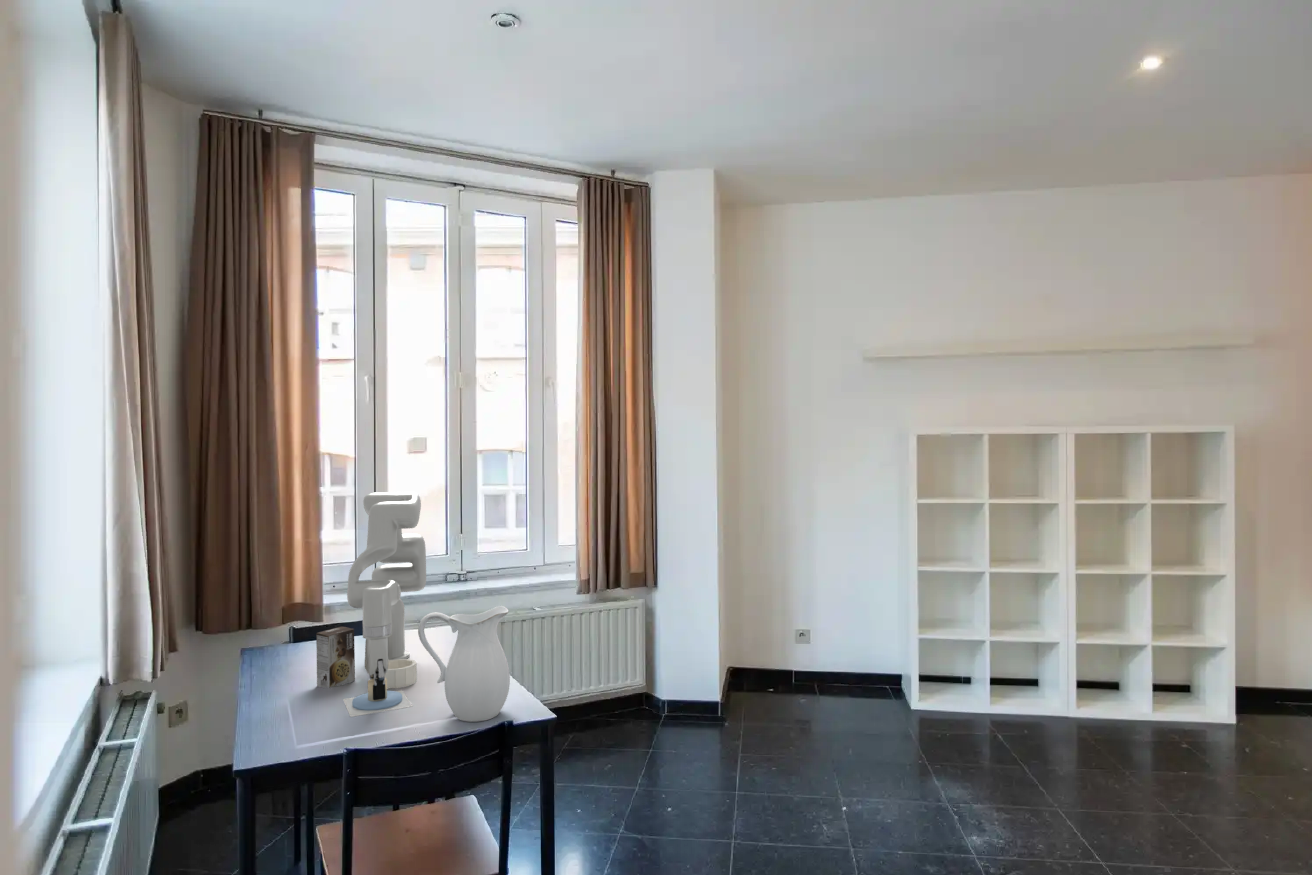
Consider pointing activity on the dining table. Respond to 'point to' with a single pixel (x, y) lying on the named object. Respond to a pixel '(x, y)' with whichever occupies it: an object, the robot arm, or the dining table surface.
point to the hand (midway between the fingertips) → (377, 695)
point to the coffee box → (335, 657)
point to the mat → (357, 712)
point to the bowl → (401, 673)
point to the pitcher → (473, 664)
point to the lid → (368, 703)
